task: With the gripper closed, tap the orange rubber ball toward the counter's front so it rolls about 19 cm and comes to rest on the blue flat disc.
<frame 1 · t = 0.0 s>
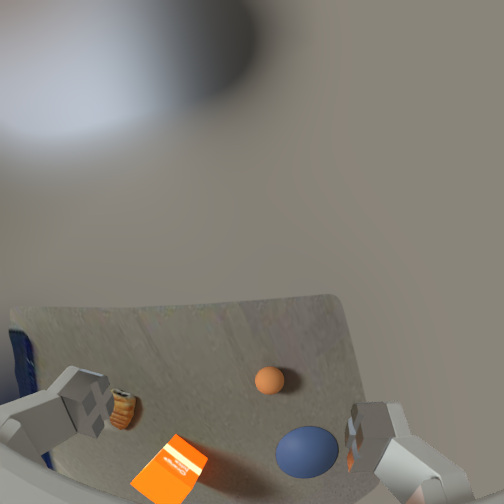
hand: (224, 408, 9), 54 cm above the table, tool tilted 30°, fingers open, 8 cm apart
orange juice: (182, 456, 59), on the table
blue flat disc: (307, 453, 57), on the table
pastry: (124, 406, 62), on the table
ball: (269, 380, 58), on the table
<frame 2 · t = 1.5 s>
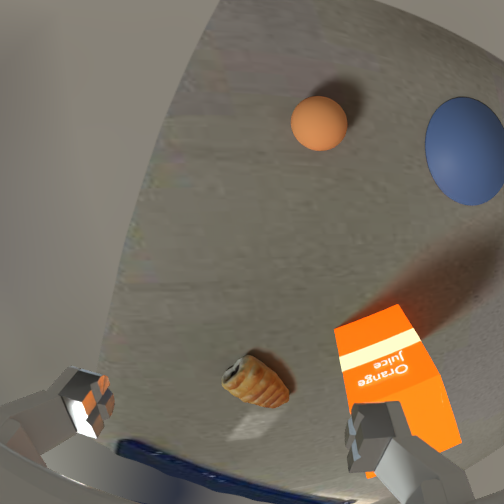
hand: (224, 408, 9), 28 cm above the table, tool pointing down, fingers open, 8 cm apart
orange juice: (373, 338, 39), on the table
blue flat disc: (470, 151, 30), on the table
pastry: (256, 376, 43), on the table
ball: (319, 123, 29), on the table
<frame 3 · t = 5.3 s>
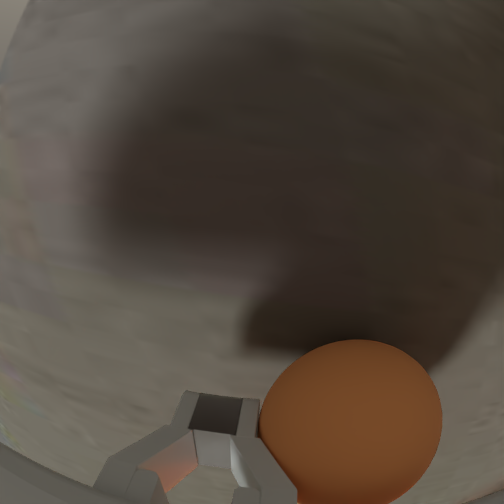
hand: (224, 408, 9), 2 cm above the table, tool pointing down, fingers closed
ball: (350, 428, 8), on the table, touching gripper
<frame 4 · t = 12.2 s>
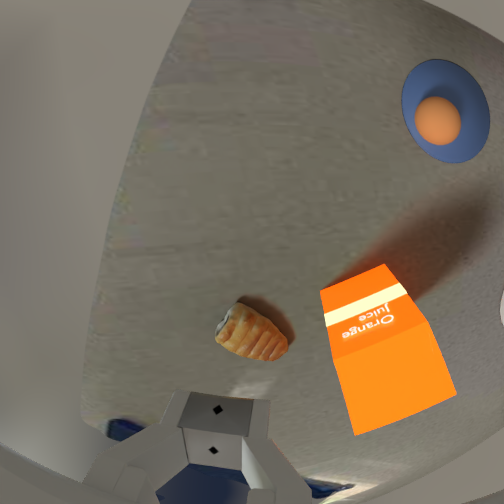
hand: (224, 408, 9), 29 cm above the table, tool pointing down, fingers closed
orange juice: (361, 301, 39), on the table
blue flat disc: (449, 110, 30), on the table
pastry: (251, 327, 42), on the table
ball: (437, 120, 29), on the table
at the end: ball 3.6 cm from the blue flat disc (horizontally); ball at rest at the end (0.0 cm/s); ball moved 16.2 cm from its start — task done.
